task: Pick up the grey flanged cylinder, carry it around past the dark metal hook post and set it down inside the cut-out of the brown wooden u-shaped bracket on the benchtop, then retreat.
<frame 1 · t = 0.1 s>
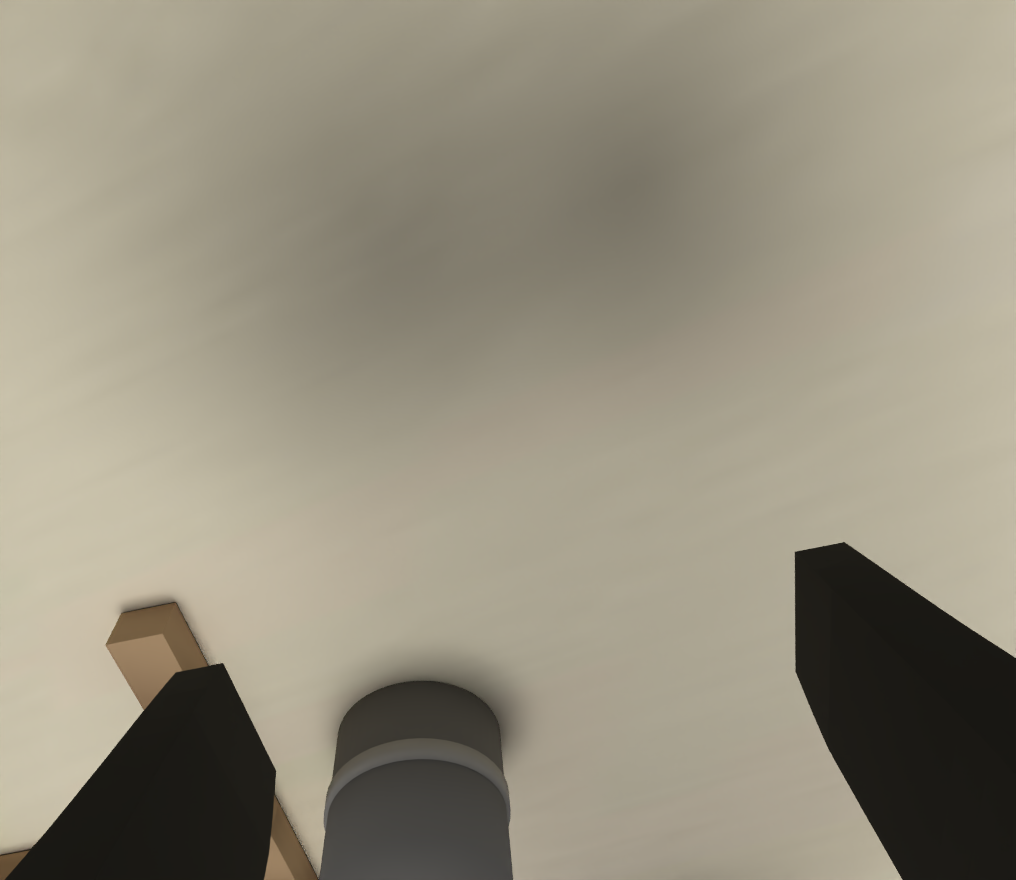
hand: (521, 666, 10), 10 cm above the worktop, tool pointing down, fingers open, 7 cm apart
brown wooden u-shaped bracket: (89, 827, 26), on the worktop
grey flanged cylinder: (419, 739, 25), on the worktop
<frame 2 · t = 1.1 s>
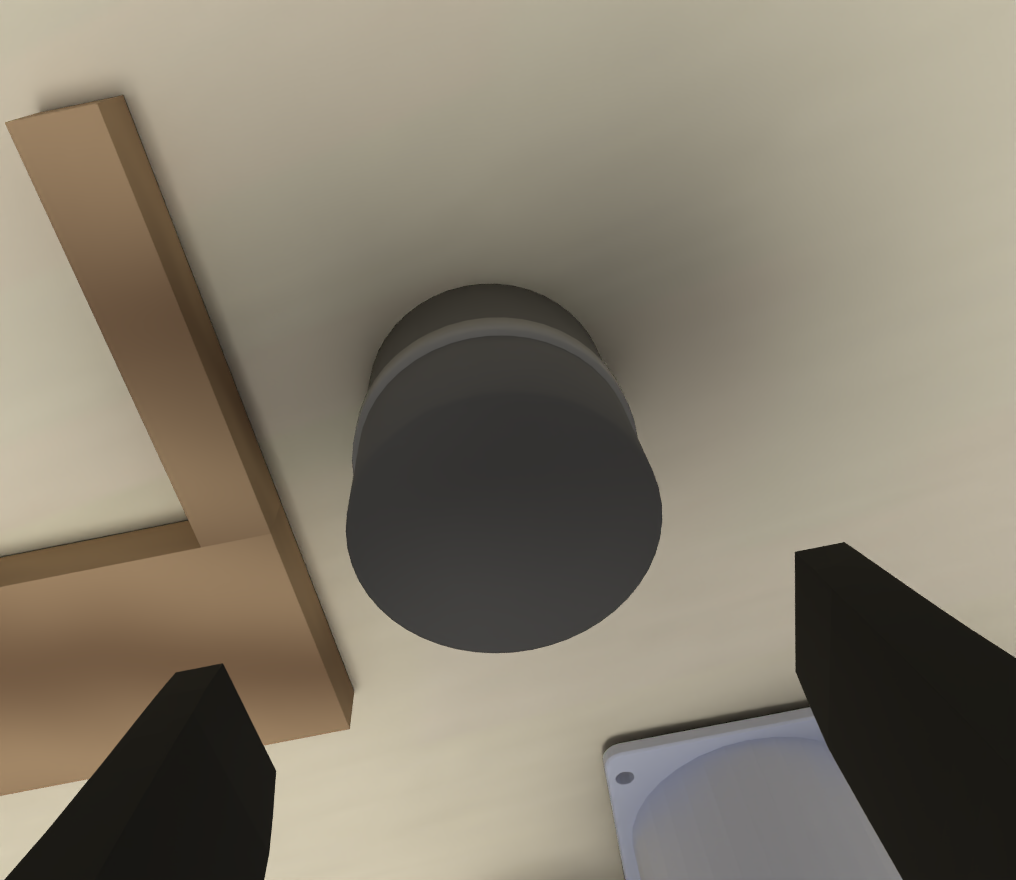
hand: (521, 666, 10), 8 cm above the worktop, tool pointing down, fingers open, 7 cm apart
brown wooden u-shaped bracket: (8, 536, 18), on the worktop
grey flanged cylinder: (488, 397, 17), on the worktop
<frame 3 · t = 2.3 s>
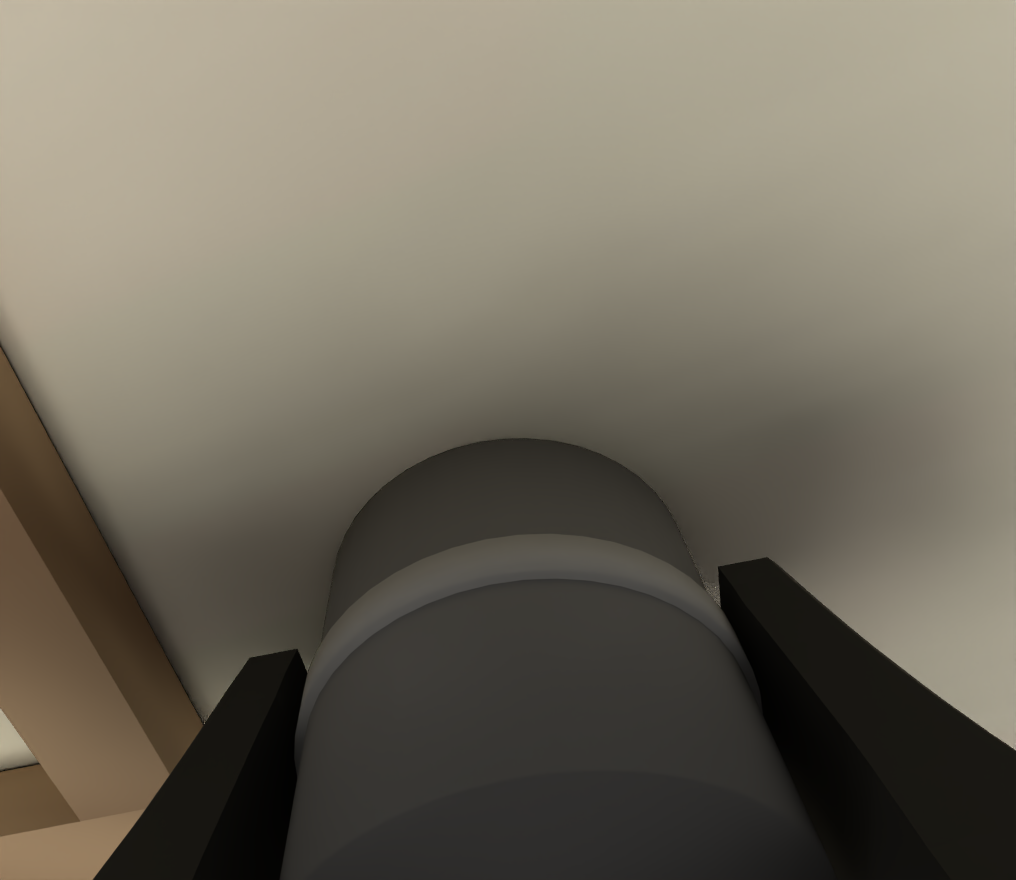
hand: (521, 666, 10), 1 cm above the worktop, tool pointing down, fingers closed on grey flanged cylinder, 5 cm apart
grey flanged cylinder: (511, 593, 11), on the worktop, touching gripper
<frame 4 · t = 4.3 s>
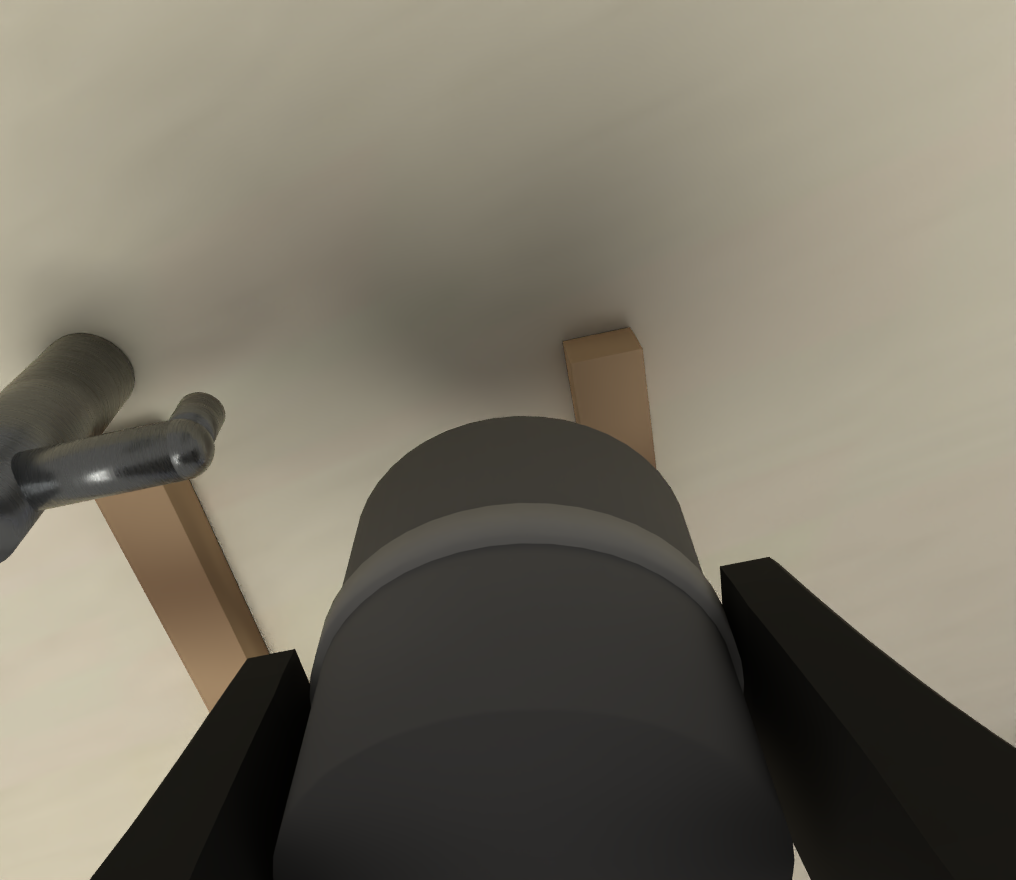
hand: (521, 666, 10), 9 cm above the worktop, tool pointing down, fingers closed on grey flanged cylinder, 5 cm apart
hook: (89, 373, 17), on the worktop
brown wooden u-shaped bracket: (443, 646, 22), on the worktop
grey flanged cylinder: (521, 561, 12), point 7 cm above the worktop, touching gripper
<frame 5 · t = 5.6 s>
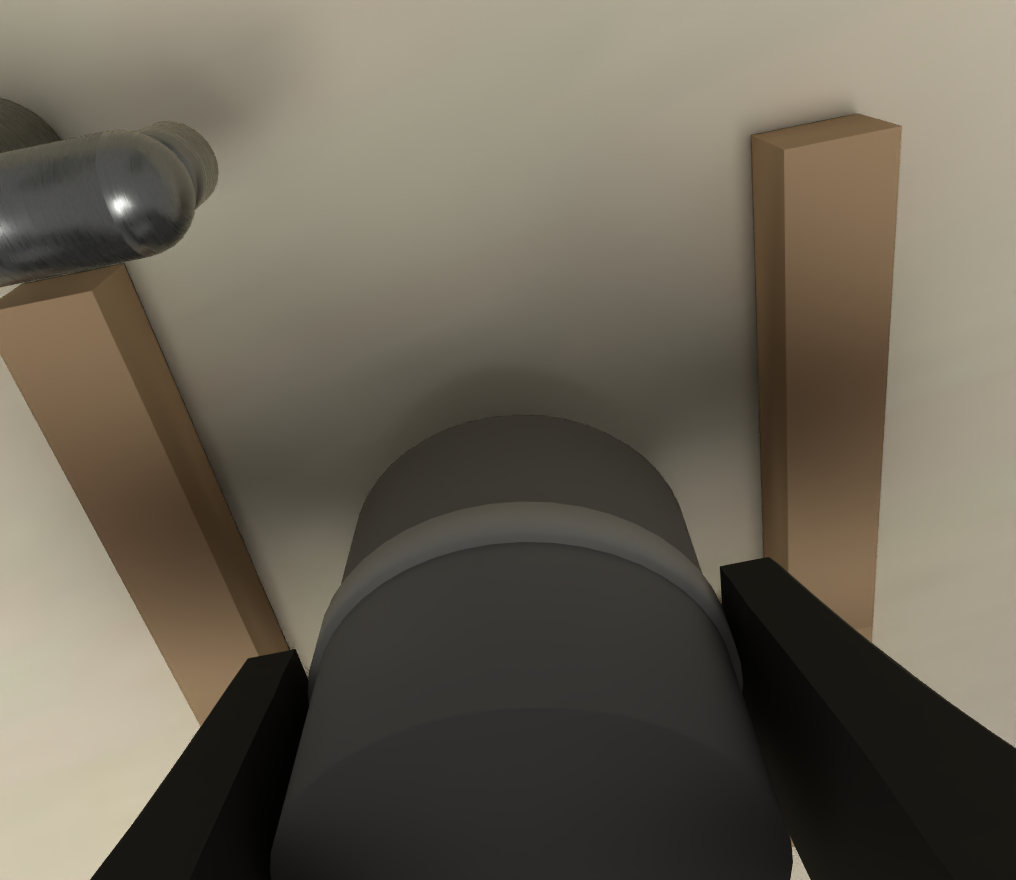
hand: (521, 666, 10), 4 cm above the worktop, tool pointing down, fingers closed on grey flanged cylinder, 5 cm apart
hook: (3, 169, 11), on the worktop
brown wooden u-shaped bracket: (529, 623, 15), on the worktop
grey flanged cylinder: (520, 561, 12), point 2 cm above the worktop, touching gripper
when the fingers open (3 cm above the worktop, at t = 6.4 s): grey flanged cylinder stays where it is, on the worktop.
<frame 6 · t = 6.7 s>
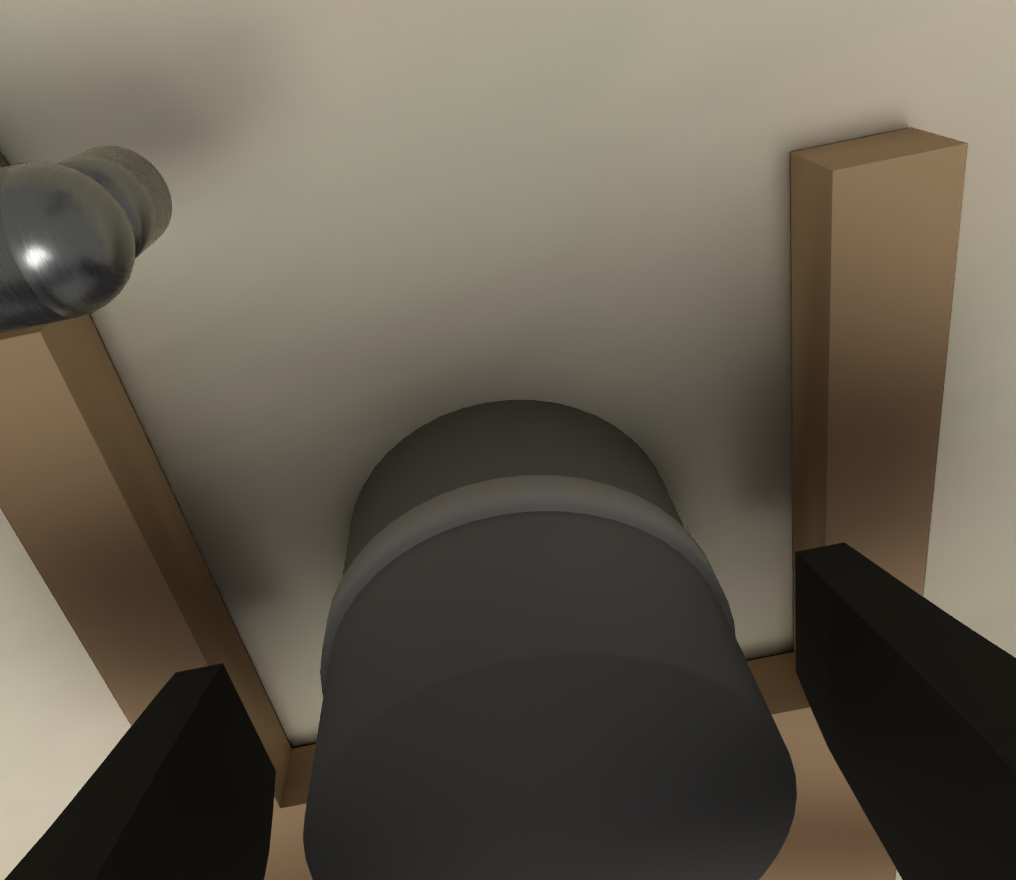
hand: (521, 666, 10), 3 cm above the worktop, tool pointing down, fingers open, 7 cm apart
brown wooden u-shaped bracket: (536, 680, 14), on the worktop
grey flanged cylinder: (512, 543, 13), on the worktop
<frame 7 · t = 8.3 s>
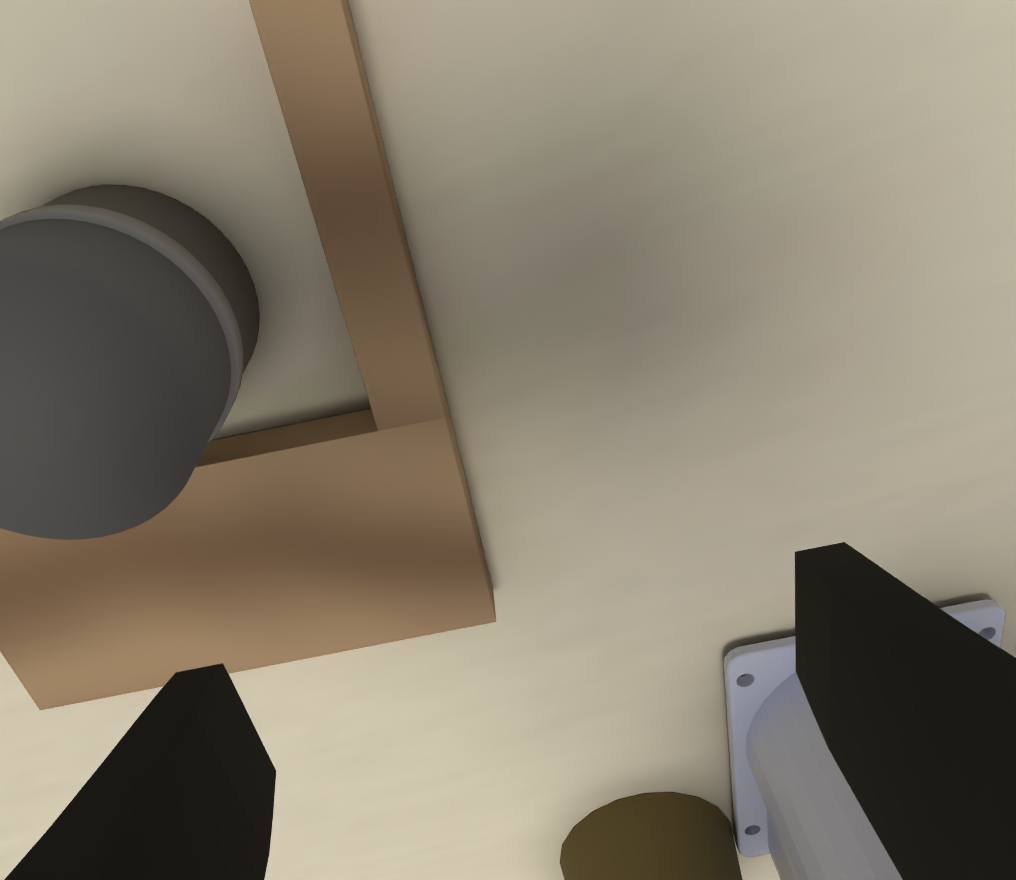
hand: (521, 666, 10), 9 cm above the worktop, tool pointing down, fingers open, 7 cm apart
brown wooden u-shaped bracket: (184, 425, 18), on the worktop
cork: (645, 845, 28), on the worktop
grey flanged cylinder: (138, 305, 17), on the worktop
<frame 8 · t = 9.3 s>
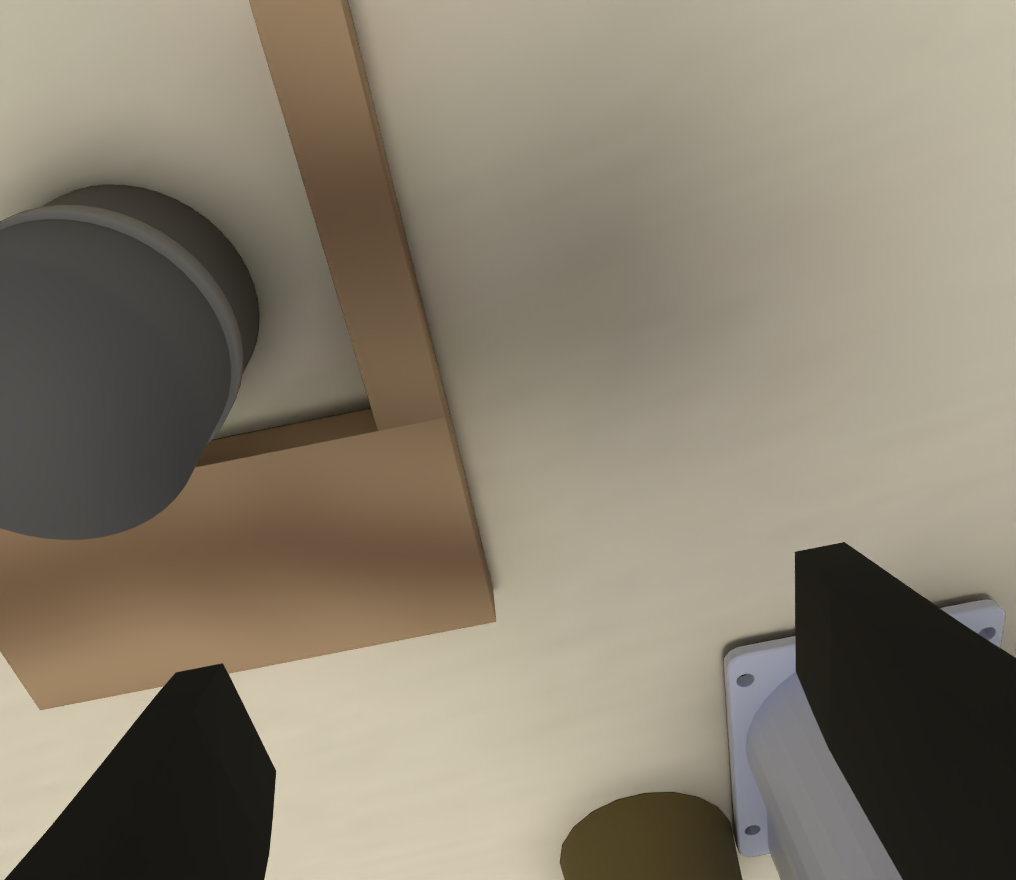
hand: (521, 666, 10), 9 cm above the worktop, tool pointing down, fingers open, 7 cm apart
brown wooden u-shaped bracket: (184, 425, 18), on the worktop
cork: (645, 845, 28), on the worktop
grey flanged cylinder: (138, 305, 17), on the worktop
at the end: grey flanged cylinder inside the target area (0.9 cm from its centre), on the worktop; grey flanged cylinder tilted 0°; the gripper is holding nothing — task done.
